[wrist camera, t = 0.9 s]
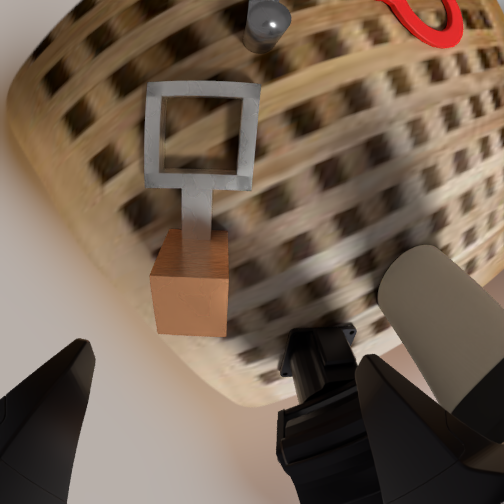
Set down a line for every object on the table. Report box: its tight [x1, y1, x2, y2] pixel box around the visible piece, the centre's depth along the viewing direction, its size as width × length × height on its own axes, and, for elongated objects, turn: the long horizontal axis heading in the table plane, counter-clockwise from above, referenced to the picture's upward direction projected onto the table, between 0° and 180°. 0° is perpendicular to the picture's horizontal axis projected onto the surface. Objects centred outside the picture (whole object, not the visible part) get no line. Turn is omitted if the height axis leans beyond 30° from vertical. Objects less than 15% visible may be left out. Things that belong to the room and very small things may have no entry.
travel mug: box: [378, 245, 504, 444], centre depth 15 cm, size 8×8×18 cm
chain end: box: [144, 81, 261, 337], centre depth 15 cm, size 14×6×6 cm, turn 175°
